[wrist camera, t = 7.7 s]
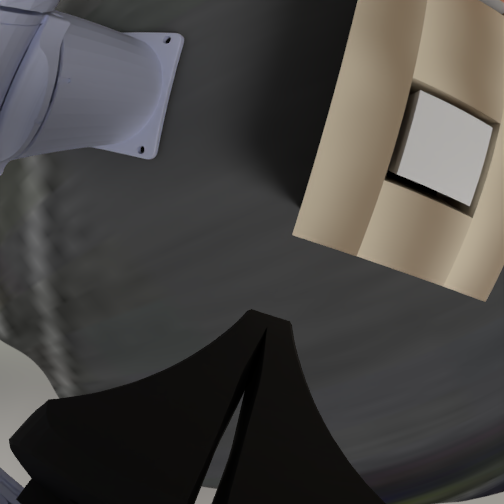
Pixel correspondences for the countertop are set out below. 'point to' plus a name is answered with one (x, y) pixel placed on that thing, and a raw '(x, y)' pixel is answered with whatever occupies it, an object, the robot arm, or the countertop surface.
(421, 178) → the matte grey cube
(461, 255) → the button block
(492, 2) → the orange block
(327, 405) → the countertop surface
